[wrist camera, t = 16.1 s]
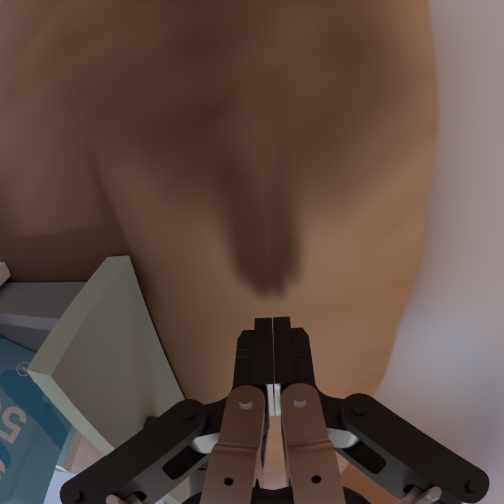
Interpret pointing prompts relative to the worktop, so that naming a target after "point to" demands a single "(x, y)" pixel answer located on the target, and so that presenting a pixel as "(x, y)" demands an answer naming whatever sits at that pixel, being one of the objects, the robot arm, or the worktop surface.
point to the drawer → (94, 353)
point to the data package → (26, 430)
